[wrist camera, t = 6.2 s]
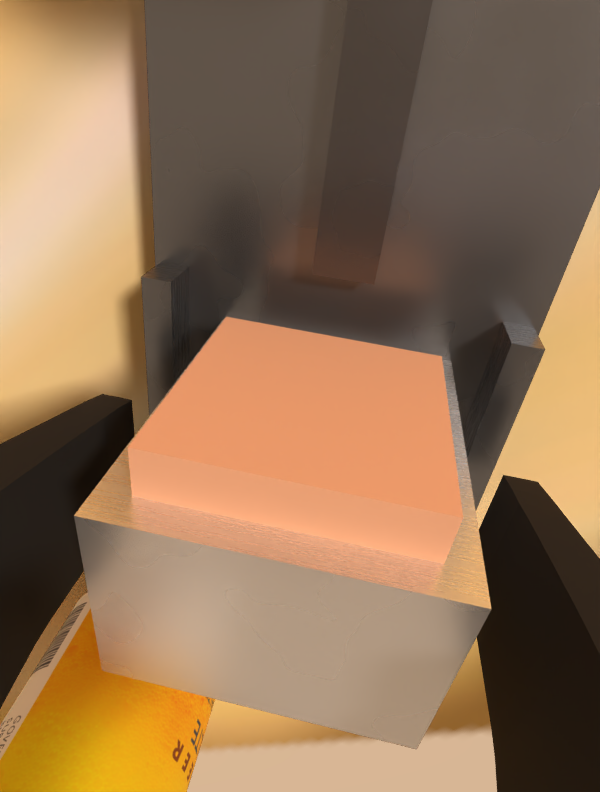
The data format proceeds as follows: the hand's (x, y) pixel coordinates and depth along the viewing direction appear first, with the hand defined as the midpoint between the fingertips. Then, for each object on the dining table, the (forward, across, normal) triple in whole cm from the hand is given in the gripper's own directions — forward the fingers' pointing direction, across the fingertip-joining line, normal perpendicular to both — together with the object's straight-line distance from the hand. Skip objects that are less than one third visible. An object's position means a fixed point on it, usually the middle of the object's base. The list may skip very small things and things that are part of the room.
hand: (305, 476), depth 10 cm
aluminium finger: (+2, 0, 0) cm, 2 cm away
